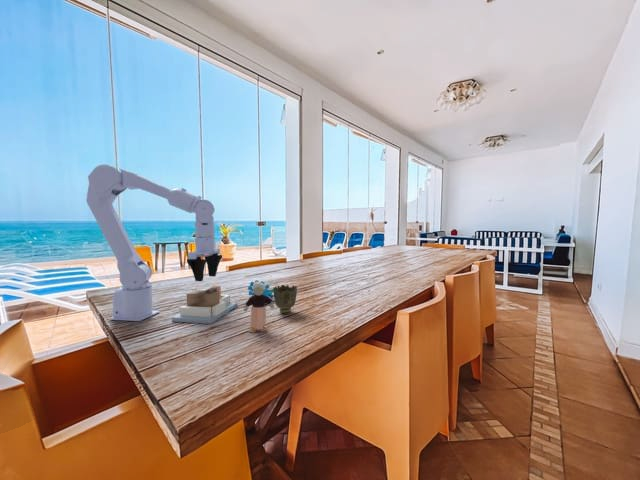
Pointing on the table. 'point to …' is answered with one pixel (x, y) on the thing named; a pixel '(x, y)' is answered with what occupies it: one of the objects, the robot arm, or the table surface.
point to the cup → (285, 298)
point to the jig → (205, 312)
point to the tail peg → (218, 290)
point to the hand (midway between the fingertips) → (206, 278)
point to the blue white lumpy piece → (266, 292)
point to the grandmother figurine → (258, 307)
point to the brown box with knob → (203, 298)
